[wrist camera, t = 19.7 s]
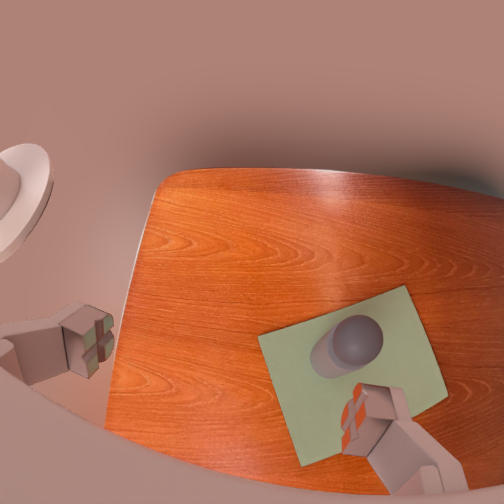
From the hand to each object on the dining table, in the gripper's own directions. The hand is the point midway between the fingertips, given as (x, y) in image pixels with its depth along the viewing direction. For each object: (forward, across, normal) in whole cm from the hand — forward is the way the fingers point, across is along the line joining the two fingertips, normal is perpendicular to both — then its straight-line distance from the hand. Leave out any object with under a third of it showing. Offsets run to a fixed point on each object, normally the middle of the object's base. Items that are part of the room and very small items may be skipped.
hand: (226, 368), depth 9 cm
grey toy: (+22, -9, +14) cm, 28 cm away
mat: (+22, -13, +15) cm, 29 cm away
